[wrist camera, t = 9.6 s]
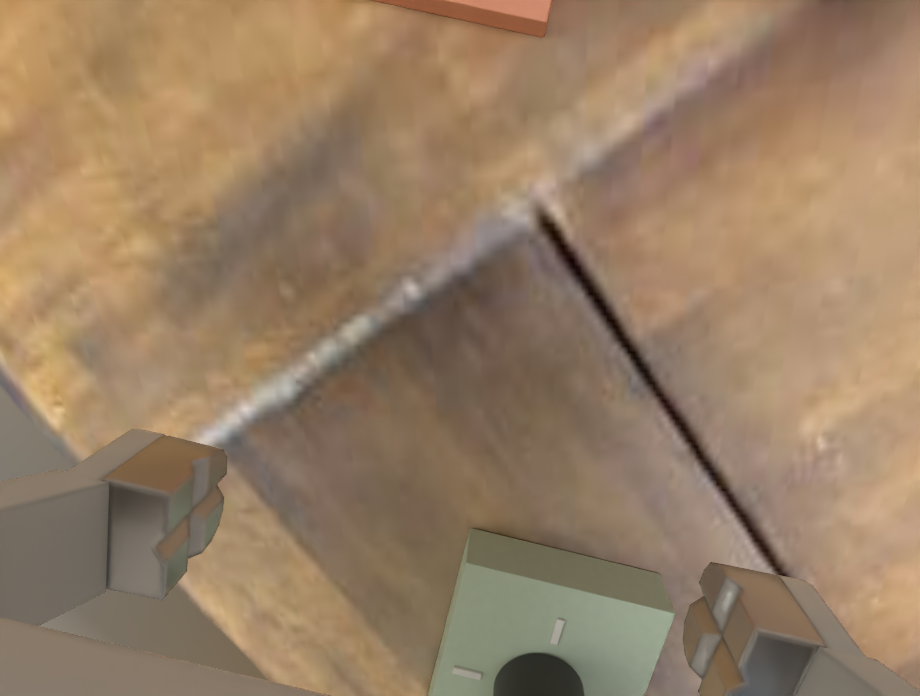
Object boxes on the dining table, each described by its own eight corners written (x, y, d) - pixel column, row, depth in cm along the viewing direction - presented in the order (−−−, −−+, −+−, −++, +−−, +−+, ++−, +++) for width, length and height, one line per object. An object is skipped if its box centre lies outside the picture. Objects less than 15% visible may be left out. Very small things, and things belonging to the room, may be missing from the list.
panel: (595, 750, 33) (604, 806, 30) (424, 707, 33) (415, 758, 30) (660, 573, 30) (676, 616, 27) (470, 527, 30) (465, 564, 27)
